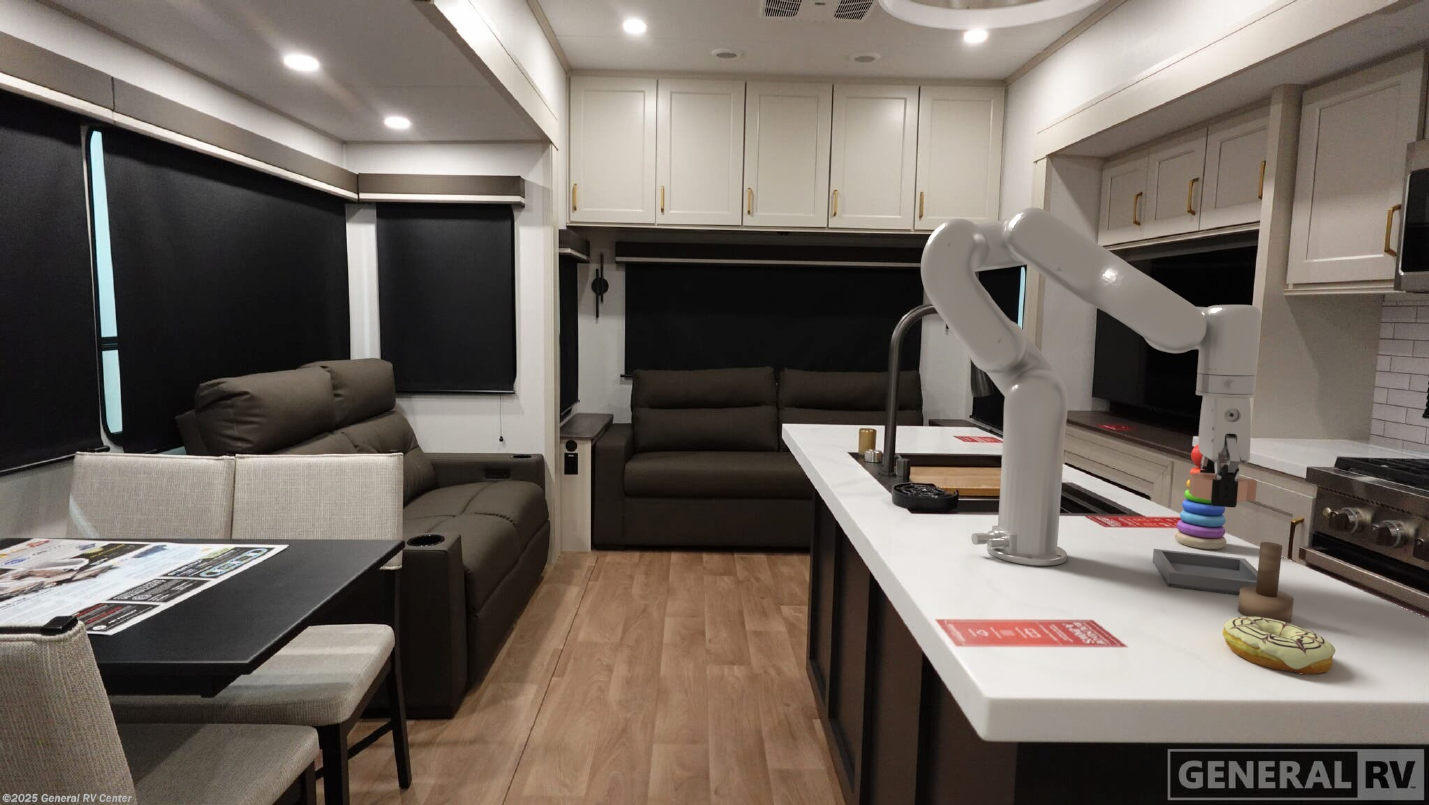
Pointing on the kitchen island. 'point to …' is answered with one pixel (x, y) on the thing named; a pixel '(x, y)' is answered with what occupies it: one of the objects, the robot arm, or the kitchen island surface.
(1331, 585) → the kitchen island surface
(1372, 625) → the kitchen island surface
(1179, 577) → the tray
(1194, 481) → the ring
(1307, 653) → the decorated donut
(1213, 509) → the stacking toy
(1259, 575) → the rod
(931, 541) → the kitchen island surface
